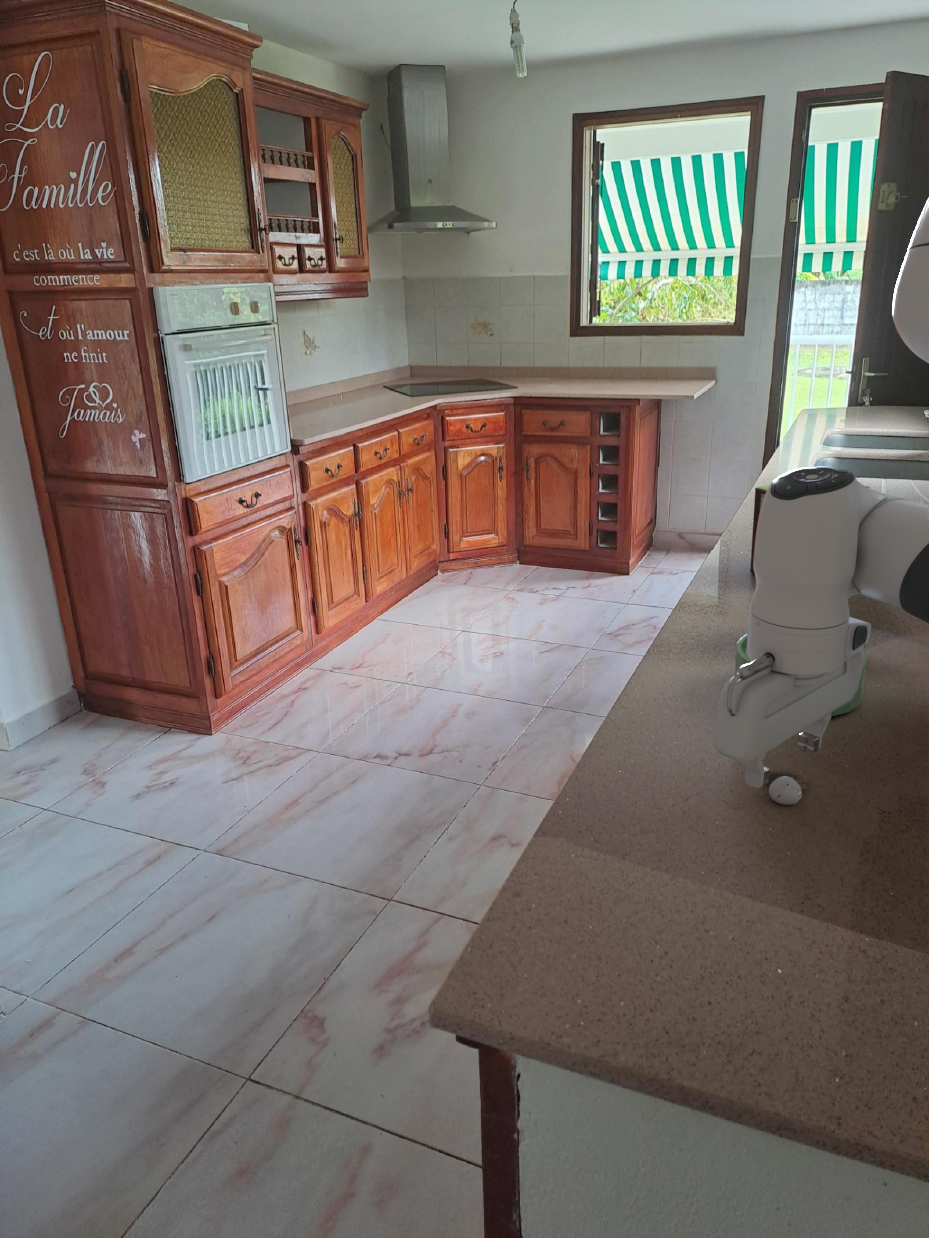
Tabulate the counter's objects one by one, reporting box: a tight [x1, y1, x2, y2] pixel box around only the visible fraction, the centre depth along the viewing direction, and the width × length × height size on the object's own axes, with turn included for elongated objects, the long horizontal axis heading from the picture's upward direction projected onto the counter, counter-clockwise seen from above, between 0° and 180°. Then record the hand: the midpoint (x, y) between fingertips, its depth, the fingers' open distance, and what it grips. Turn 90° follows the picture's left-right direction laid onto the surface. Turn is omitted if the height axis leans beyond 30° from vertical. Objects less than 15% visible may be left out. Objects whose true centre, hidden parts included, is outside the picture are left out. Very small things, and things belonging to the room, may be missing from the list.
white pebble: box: [768, 770, 803, 806], centre depth 90 cm, size 3×4×3 cm
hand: (783, 766), depth 89 cm, fingers open, 8 cm apart
